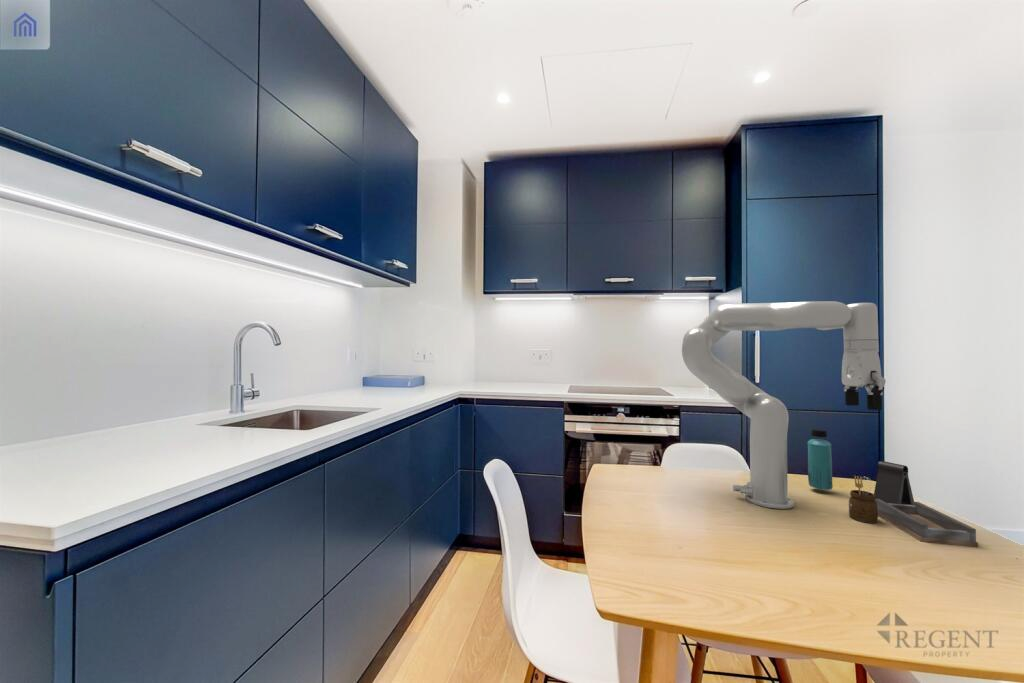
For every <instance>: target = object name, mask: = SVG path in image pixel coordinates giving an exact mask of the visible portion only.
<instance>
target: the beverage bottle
mask: <svg viewBox="0 0 1024 683" xmlns="http://www.w3.org/2000/svg"><path fill="white" fill-rule="evenodd" d="M810 432H811V433H810V436H811V437H815V438H811V439H809V440H808V441H807V469H808V470H807V481H808V486H810V487H811V488H813V489H818V490H822V491H823V490H825V491H830V490H832V489H833V487H834V486H833V485H834V484H833V475H834V474H833V472H834V471H833V461H832V460H833V459H832V444H831V443H830V442H829V441H828V440H825V439H820V438H827V437H828V435H827V430H825V429H819V428H812V429H811V431H810ZM816 437H817V438H816Z"/></svg>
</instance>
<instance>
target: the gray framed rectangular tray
mask: <svg viewBox="0 0 1024 683" xmlns="http://www.w3.org/2000/svg"><path fill="white" fill-rule="evenodd" d="M874 501H875V502H876V503H877V507H878V517H879V518H880V519H883V520H884V521H886V522H888V523H889V524H891V525H893V526H894V527H896V528H898V529H899V530H901V531H903V532H904V533H906V534H908V535H909V536H911V537H913V538H914V539H916V540H917V541H920V542H924V543H925V542H926V543H935V544H947V545H953V546H955V545H956V546H964V547H967V546H968V547H977V548H978V547H979V542H978V541H977V529H976V528H975V527H972V526H970V525H968V524H966V523H964V522H961V521H960V520H957V519H956V518H953V517H951V516H950V515H949V516H948V515H947V514H945V513H944V512H941V511H938V510H937V509H934V508H933V507H930V506H928V505H926V504H924V503H922V502H919V501H914V502H913V505H904V504H892V503H886V502H884V501H882V500H880V499H876V500H874Z"/></svg>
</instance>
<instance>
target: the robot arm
mask: <svg viewBox="0 0 1024 683" xmlns="http://www.w3.org/2000/svg"><path fill="white" fill-rule="evenodd" d="M878 318H879V316H878V306H877V304H875V303H874V302H855V303H848V304H846V303H843V302H840V301H836V300H835V301H831V300H830V301H829V300H827V301H825V300H823V301H822V300H821V301H820V300H819V301H818V300H817V301H816V300H815V301H793V302H791V301H789V302H758V303H757V302H754V303H753V302H750V303H746V302H743V303H741V302H740V303H739V302H738V303H737V302H736V303H733V302H731V303H723V304H722V303H721V304H720V305H718V306H716V307H715V308H714V310H713V311H712V312H711V313H710V314H709V315H707V316H706V317H705V318H704V319H703V320H702V321H700V322H699V323H698V324H697V325H695V326H694V327H693V328H691V329H689V330H688V331H686V333H685V334H684V335H683V338H682V345H681V354H682V359H683V362H684V364H685V366H686V368H687V369H688V370H689V371H690V372H691V373H692V375H693V376H695V377H696V378H697V379H698V380H700V381H701V382H702V383H704V384H705V385H706V386H707V387H709V388H710V389H711V390H713V391H714V392H716V393H717V394H718V395H719V397H721V399H723V400H724V401H726V402H727V403H729V404H730V405H732V406H733V407H734V408H735V409H737V410H738V411H739V412H741V413H743V414H744V416H746V417H748V418H749V419H750V426H749V427H750V428H749V467H750V468H749V474H750V475H749V477H750V478H749V479H750V480H749V481H747V482H746V484H744V485H740V484H733V485H732V491H733V492H739V493H740V494H743V495H744V498H745V500H746V501H748V502H750V503H752V504H755V505H757V506H761V507H765V508H770V509H779V510H780V509H781V510H787V509H791V508H794V507H795V501H794V500H793V499H792V498H790V497H789V496H788V489H789V488H788V430H789V429H788V428H789V418H790V417H789V411H788V409H787V407H786V404H784V403H783V401H781V400H780V399H778V398H777V397H774V396H772V395H770V394H768V393H766V392H765V391H764V390H763V389H761V388H760V387H759V386H756V385H755V384H754V383H753V382H751V381H750V380H749V379H748V378H747V377H746V376H744V375H742V374H741V373H738V372H736V371H735V370H734V369H732V368H730V367H729V366H728V365H727V364H725V363H723V361H722V360H719V359H718V358H717V357H716V356H715V355H714V354H713V353H712V349H711V347H713V345H715V344H716V343H717V342H719V341H720V340H721V339H723V337H725V336H726V335H727V334H729V333H730V332H731V331H739V332H740V331H743V332H744V331H746V332H747V331H749V332H750V331H754V332H758V331H759V332H761V331H762V332H763V331H764V332H766V331H767V332H771V331H773V332H774V331H775V332H776V331H782V330H789V329H816V330H820V331H828V330H829V331H830V330H838V329H842V331H843V336H842V338H843V355H842V362H841V384H842V385H843V391H844V399H845V400H844V401H845V404H844V405H845V406H854V407H855V406H859V405H860V399H859V398H860V395H859V391H858V389H859V388H863V387H864V388H865V390H866V392H867V394H866V409H867V410H869V411H871V410H872V411H881V410H883V400H882V397H883V394H884V392H883V391H884V390H885V385H886V379H885V378H884V377H883V376H882V369H881V368H882V367H881V366H882V365H881V360H880V355H879V352H880V349H879V347H880V345H879V344H880V343H879V320H878Z"/></svg>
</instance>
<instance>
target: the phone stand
mask: <svg viewBox="0 0 1024 683" xmlns="http://www.w3.org/2000/svg"><path fill="white" fill-rule="evenodd" d="M876 476H877V477H876V479H875V480H876V482H875V486H874V492H873V494H874V495H875V497H876V499H880V500H882V501H884V502H886V503H892V504H904V505H913V502H915V500H914V496H913V491H912V486H911V482H910V479H909V478H910V477H909V468H908V466H907V465H903V464H899V463H894V462H889V461H885V460H880V461H878V462H877V475H876Z"/></svg>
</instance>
